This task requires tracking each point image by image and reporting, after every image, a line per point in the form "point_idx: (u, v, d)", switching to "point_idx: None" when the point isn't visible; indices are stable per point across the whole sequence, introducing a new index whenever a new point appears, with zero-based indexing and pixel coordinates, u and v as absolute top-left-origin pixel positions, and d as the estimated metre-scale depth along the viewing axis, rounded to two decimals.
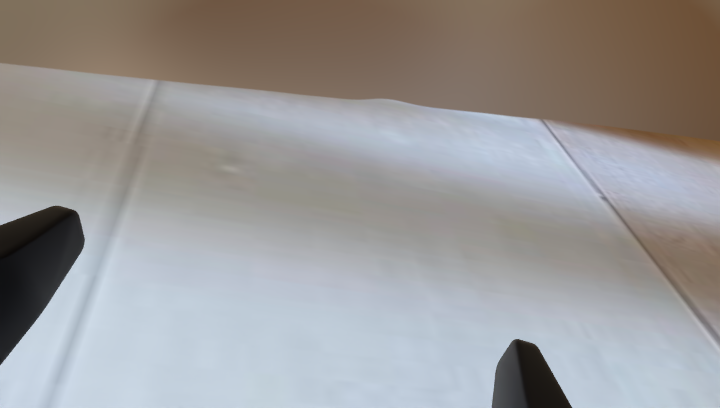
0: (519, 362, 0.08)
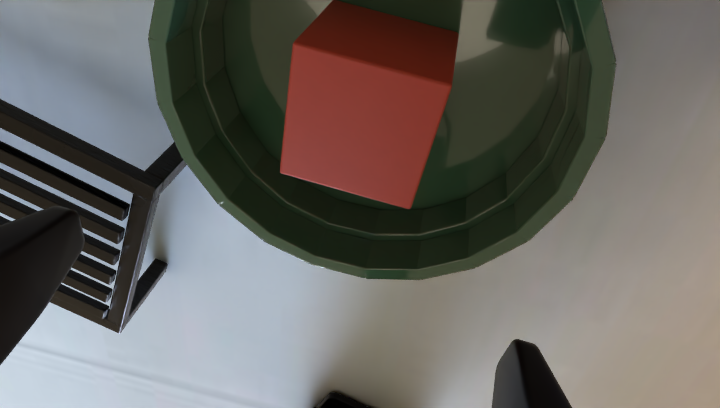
0: (519, 362, 0.08)
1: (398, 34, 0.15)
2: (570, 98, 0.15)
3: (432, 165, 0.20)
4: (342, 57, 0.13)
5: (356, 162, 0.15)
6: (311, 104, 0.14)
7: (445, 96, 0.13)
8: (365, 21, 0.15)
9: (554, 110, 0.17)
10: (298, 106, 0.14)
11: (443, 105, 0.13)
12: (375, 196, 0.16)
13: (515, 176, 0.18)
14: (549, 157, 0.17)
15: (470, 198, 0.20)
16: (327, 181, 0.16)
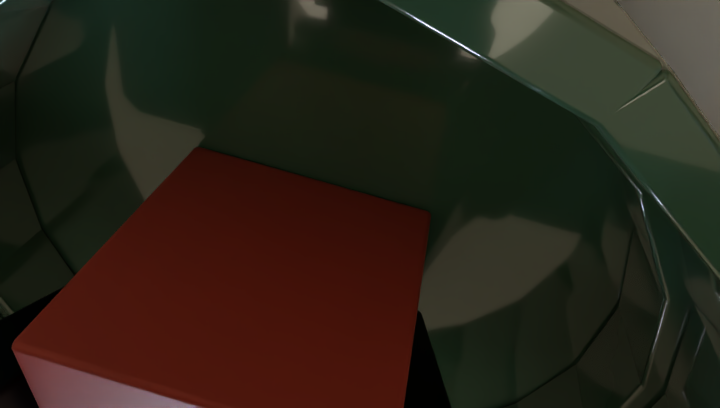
0: None
1: (300, 248, 0.07)
2: (654, 371, 0.08)
3: None
4: (128, 383, 0.05)
5: None
6: None
7: None
8: (240, 211, 0.08)
9: (612, 352, 0.09)
10: None
11: None
12: None
13: None
14: None
15: None
16: None
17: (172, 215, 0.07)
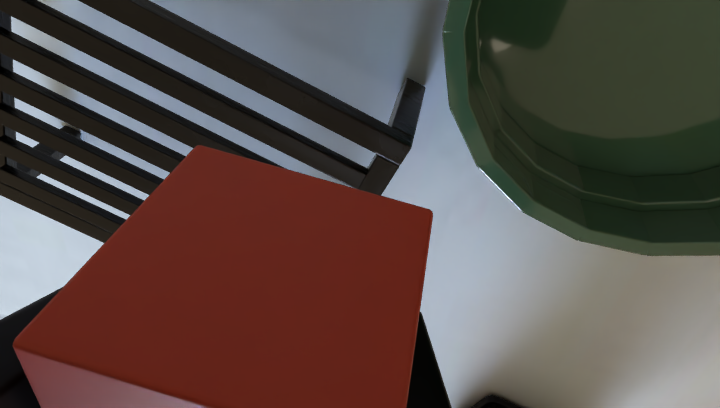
0: None
1: (303, 247, 0.07)
2: None
3: None
4: (129, 380, 0.05)
5: None
6: None
7: None
8: (241, 209, 0.08)
9: None
10: None
11: None
12: None
13: None
14: None
15: None
16: None
17: (173, 213, 0.07)
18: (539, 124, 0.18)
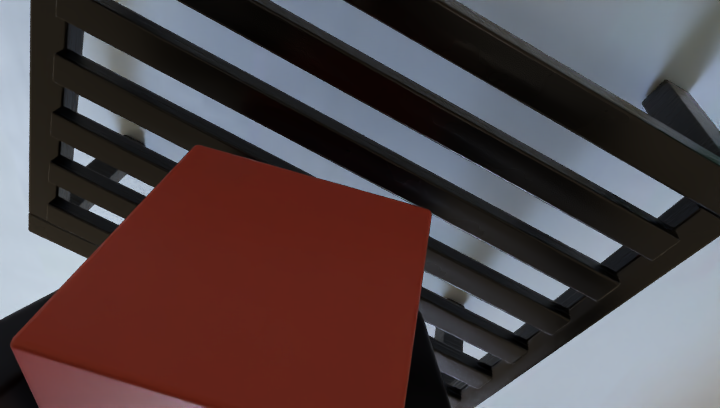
0: None
1: (301, 247, 0.07)
2: None
3: None
4: (127, 380, 0.05)
5: None
6: None
7: None
8: (240, 209, 0.08)
9: None
10: None
11: None
12: None
13: None
14: None
15: None
16: None
17: (172, 213, 0.07)
18: None
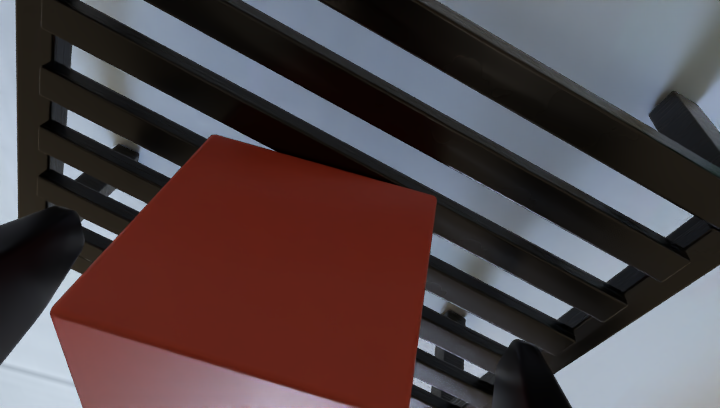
0: (519, 362, 0.08)
1: (314, 229, 0.08)
2: None
3: None
4: (158, 345, 0.06)
5: None
6: (122, 400, 0.07)
7: None
8: (256, 193, 0.08)
9: None
10: (99, 398, 0.07)
11: None
12: None
13: None
14: None
15: None
16: None
17: (193, 196, 0.08)
18: None
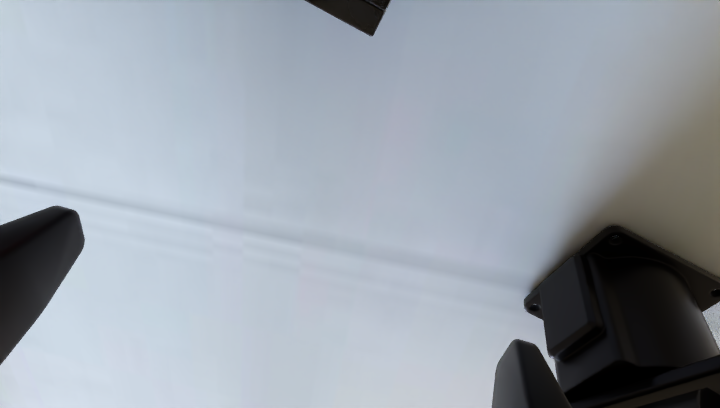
0: (519, 362, 0.08)
1: None
2: None
3: None
4: None
5: None
6: None
7: None
8: None
9: None
10: None
11: None
12: None
13: None
14: None
15: None
16: None
17: None
18: None
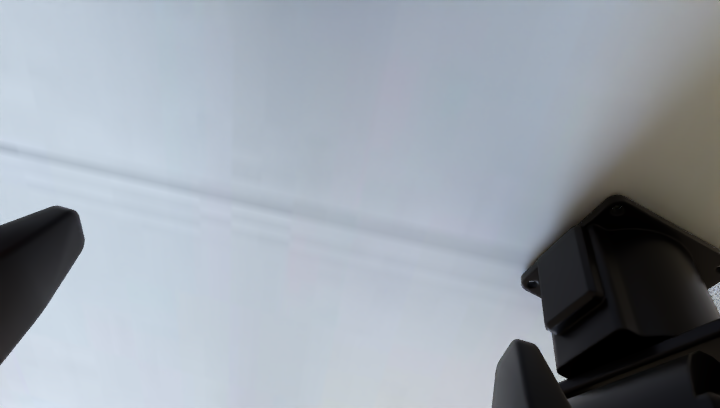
0: (519, 362, 0.08)
1: None
2: None
3: None
4: None
5: None
6: None
7: None
8: None
9: None
10: None
11: None
12: None
13: None
14: None
15: None
16: None
17: None
18: None
